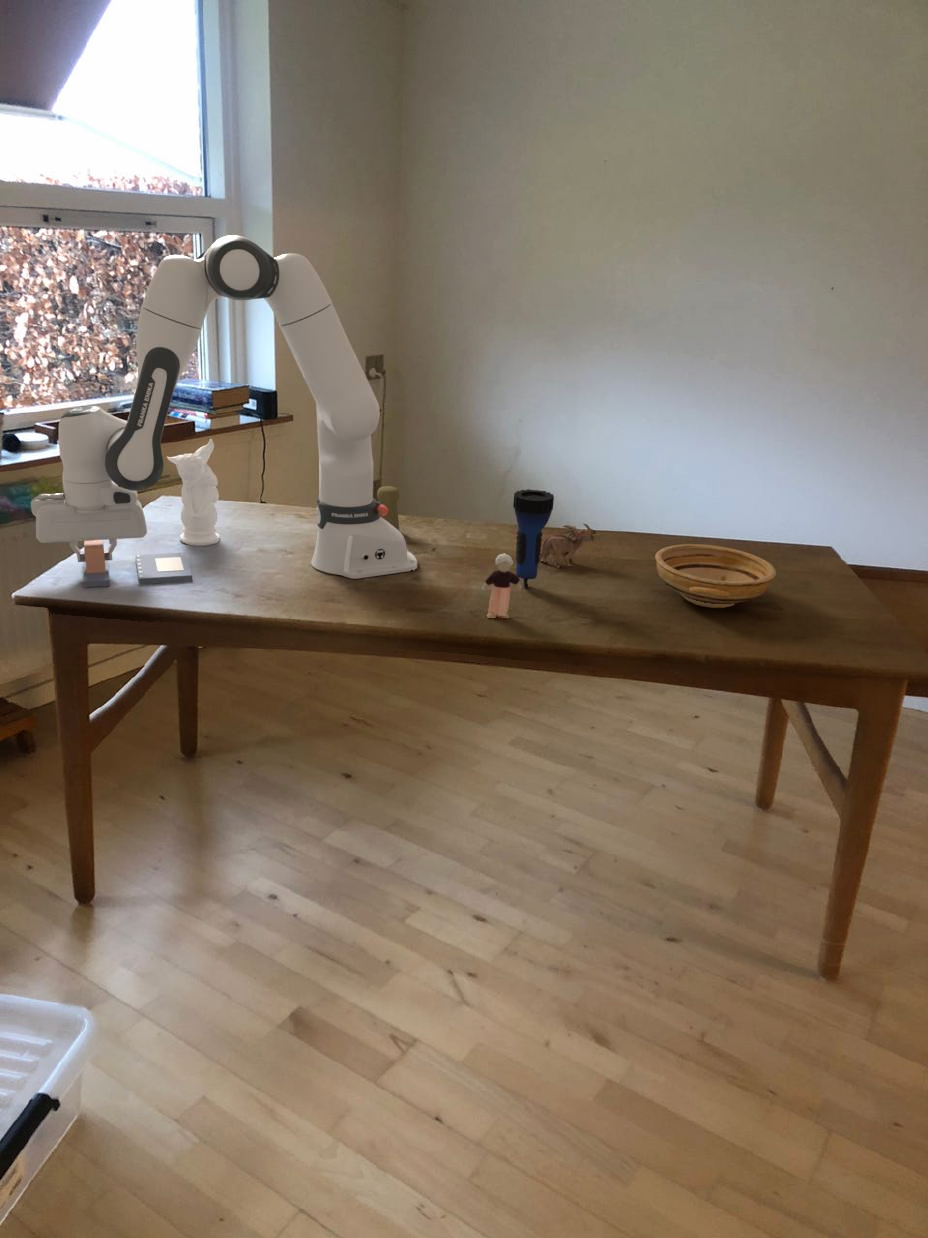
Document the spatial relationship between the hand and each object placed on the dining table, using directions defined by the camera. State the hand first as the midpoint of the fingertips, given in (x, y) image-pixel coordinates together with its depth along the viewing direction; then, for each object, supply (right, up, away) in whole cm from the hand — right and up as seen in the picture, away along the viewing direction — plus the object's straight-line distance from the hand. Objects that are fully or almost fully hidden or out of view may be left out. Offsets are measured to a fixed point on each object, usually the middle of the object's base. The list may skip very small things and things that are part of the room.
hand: (95, 560), depth 188 cm
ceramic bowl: (+124, -7, +10) cm, 124 cm away
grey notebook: (+12, -2, +5) cm, 13 cm away
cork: (+55, +9, +38) cm, 67 cm away
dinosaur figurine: (+94, +1, +25) cm, 97 cm away
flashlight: (+86, -5, +9) cm, 86 cm away
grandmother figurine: (+80, -11, -6) cm, 81 cm away
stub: (0, -3, +1) cm, 3 cm away
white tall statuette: (+12, +6, +25) cm, 29 cm away
